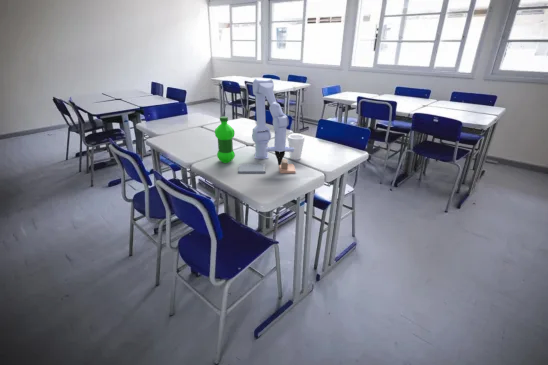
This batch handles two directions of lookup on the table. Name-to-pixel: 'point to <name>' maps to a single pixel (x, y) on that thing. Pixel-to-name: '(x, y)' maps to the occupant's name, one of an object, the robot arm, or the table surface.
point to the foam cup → (296, 145)
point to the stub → (286, 167)
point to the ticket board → (251, 168)
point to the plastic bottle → (225, 141)
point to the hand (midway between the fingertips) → (279, 164)
